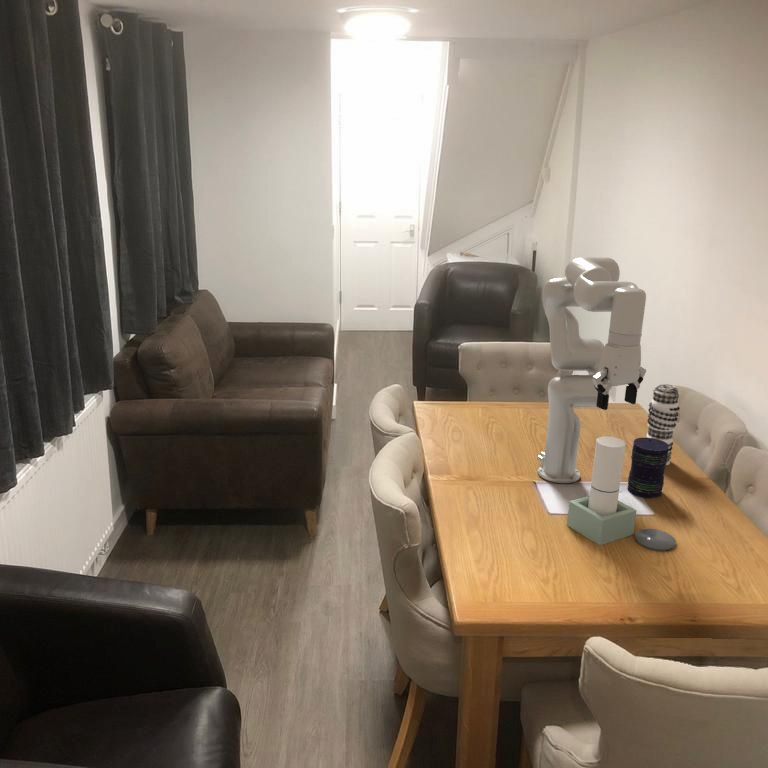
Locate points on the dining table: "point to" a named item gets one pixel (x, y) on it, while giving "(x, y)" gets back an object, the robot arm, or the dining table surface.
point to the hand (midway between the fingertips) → (616, 405)
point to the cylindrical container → (606, 475)
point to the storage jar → (647, 467)
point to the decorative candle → (663, 415)
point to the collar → (601, 521)
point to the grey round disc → (655, 539)
